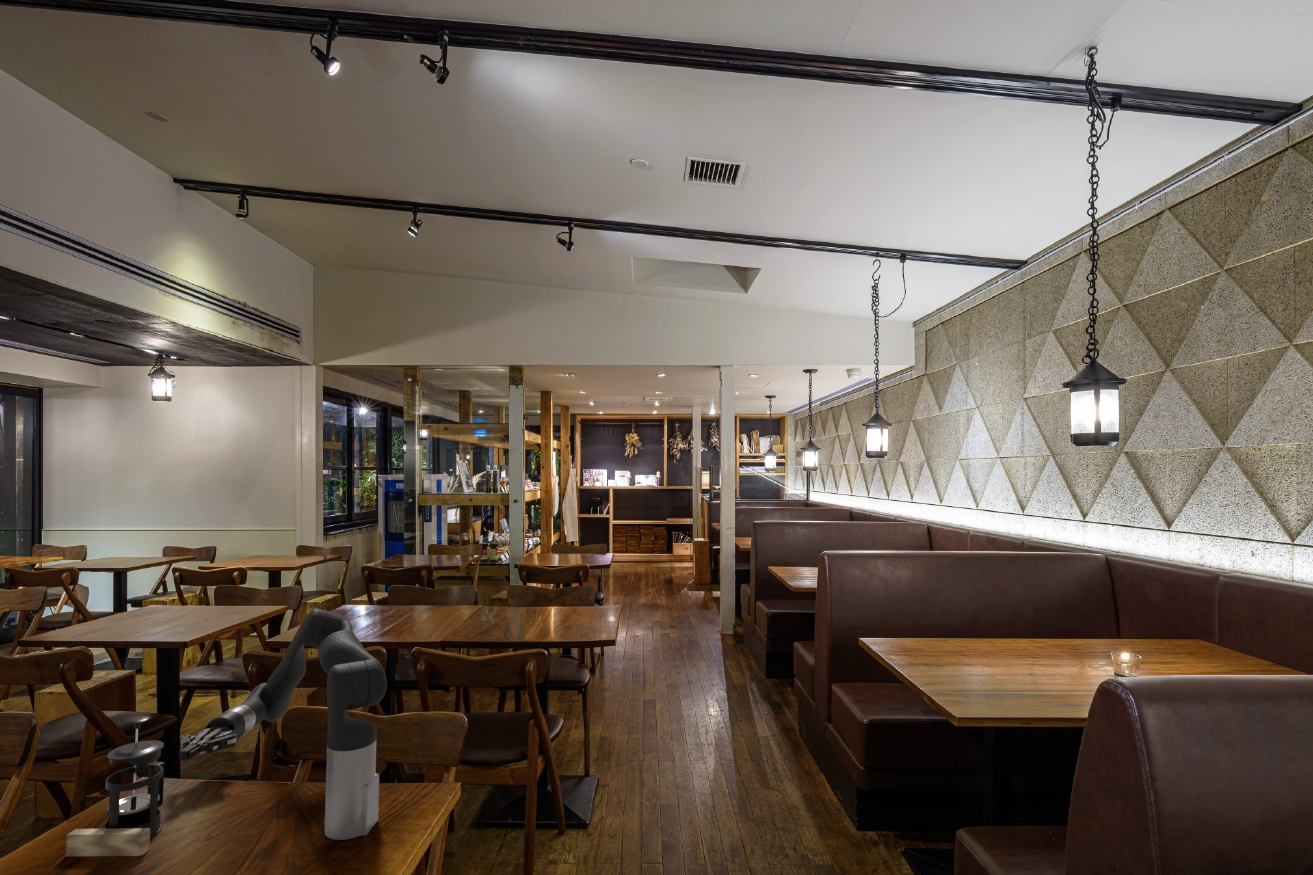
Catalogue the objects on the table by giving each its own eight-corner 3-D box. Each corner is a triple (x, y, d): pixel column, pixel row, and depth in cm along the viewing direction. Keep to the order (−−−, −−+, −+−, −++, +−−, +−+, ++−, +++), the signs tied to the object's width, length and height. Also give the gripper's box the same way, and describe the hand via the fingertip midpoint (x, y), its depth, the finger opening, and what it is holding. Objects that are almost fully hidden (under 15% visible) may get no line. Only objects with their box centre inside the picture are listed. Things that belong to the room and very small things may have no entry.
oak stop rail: (149, 849, 127) (150, 828, 127) (141, 855, 125) (142, 833, 125) (74, 850, 127) (75, 828, 127) (65, 856, 125) (66, 834, 125)
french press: (130, 852, 126) (136, 729, 127) (84, 849, 127) (91, 727, 128) (179, 820, 138) (184, 707, 139) (137, 817, 139) (142, 705, 140)
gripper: (204, 710, 164) (153, 739, 147) (258, 710, 165) (214, 739, 147) (203, 740, 164) (152, 773, 147) (257, 740, 164) (213, 773, 147)
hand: (183, 756), depth 147 cm, fingers closed
